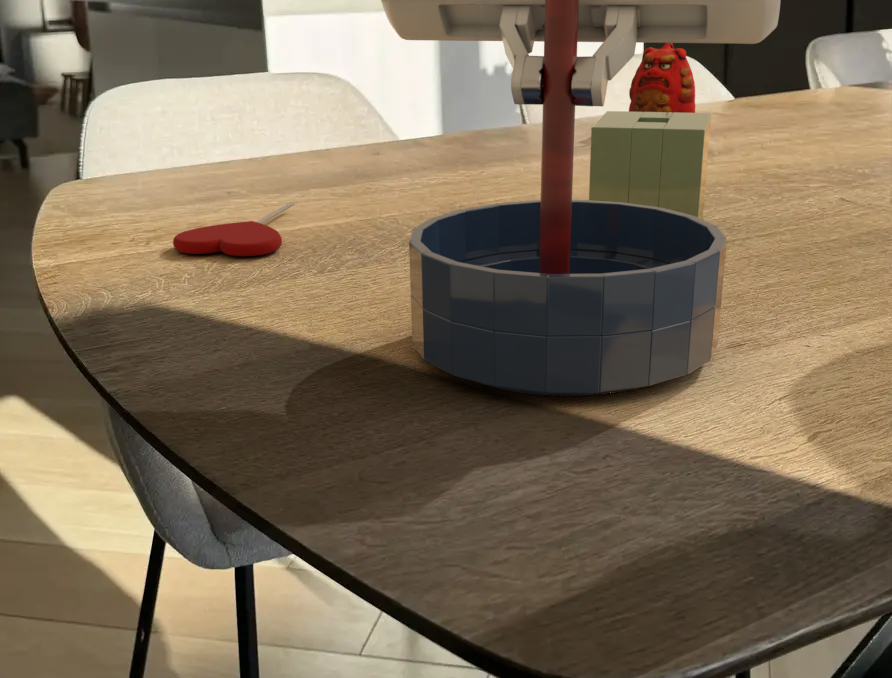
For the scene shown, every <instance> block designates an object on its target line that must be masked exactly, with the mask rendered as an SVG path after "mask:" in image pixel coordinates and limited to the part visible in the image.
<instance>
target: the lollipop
mask: <svg viewBox="0 0 892 678" xmlns="http://www.w3.org/2000/svg"><path fill="white" fill-rule="evenodd" d="M294 205H295V203H294V202H293V201H290V202H288V203H286V204H284V205H283V206H281V207H279V208H277V209H276V210H274V211H273V212H271V213H269V214H267V215H266V216H264V217H262V218H260V219H259V220H257V221H253V220H249V221H238V222H228V223H221V224H214V225H207V226H202V227H197V228H192V229H188V230H184V231H182V232H181V231H180V232H179V233H178V234H176V235H174V237H173V240H172V245H173V247H174V249H175V250H177V251H178V252H180V253H184V254H191V255H204V254H206V255H207V254H214V253H218V252H222V253H223V254H225V255H228V256H233V257H254V256H262V255H267V254H270V253H273V252H276V251H277V250H279V249H280V248H281V246H282V244H283V240H282V236H281V234H280V232H279V231H278V230H276V229H275V228H274V227H271V226H270V225H266V224H264V223H266V222H268V221H270V220H271V219H273V218H275V217H277V216H278V215H280V214H282V213H283V212H285V211H287V210H288V209H290V208H292V207H293V206H294Z"/></svg>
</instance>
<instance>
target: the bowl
mask: <svg viewBox="0 0 892 678" xmlns="http://www.w3.org/2000/svg"><path fill="white" fill-rule="evenodd" d="M540 206H541V199H535V200H533V199H532V200H522V201H521V200H520V201H509V202H507V201H506V202H497V203H489V204H483V205H478V206H473V207H466V208H461V209H457V210H453V211H450V212H447V213H444V214H439V215H437V216H434V217H430V218H428V219H426V220H425V221H423V222H422V223H420V224H419V225H416V227H414V228H412V230H411V233H410V237H409V241H408V254H409V281H410V282H409V286H410V312H411V313H410V314H411V342H412V343H411V344H412V346H413V348H414V349H415V351H416V352H417V353H418V354H419V356H420V357H421V358H422V360H423V361H425V362H426V363H428V364H430V365H432V366H433V367H435V368H438V369H439V370H441V371H443V372H445V373H447V374H449V375H451V376H453V377H457V378H460V379H463V380H468V381H472V382H475V383H477V384H481V385H483V386H487V387H490V388H491V387H492V388H495V389H498V390H503V391H509V392H514V393H520V394H529V395H537V396H548V395H553V396H554V397H556V396H555V395H560V396H559V397H570V396H569V395H572V396H571V397H586V396H585V395H588V396H595V395H594V394H597V395H596V396H599V395H598V394H602V395H608V394H607V393H610V392H611V393H610V394H613V393H612V392H618V393H622V392H621V391H623V392H628V391H627V390H629V391H633V390H638V389H641V388H644V387H650V386H654V385H657V384H661V383H664V382H667V381H670V380H673V379H677V378H680V377H684V376H688V375H689V374H691V373H692V372H694V371H696V370H697V369H699V368H700V367H702V366H704V365H705V364H707V363H708V362H710V361H711V360H712V358H713V355H714V353H715V350H716V348H717V346H718V344H719V332H720V322H721V321H720V320H721V310H722V298H723V286H724V277H725V265H726V264H725V263H726V255H727V254H726V252H727V243H728V240H727V237H726V236H725V234H724V233H723V232H722V230H721V229H720V228H719V226H717V225H715V224H713V223H712V222H711V223H710V222H709V221H707V220H705V219H700V218H698V217H696V216H693V215H689V214H685V213H681V212H677V211H673V210H669V209H665V208H661V207H654V206H646V205H639V204H632V203H625V202H609V201H592V200H589V199H572V213H571V242H570V271H569V274H544V273H539V249H540ZM603 393H604V394H603ZM553 396H552V397H553Z"/></svg>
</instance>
